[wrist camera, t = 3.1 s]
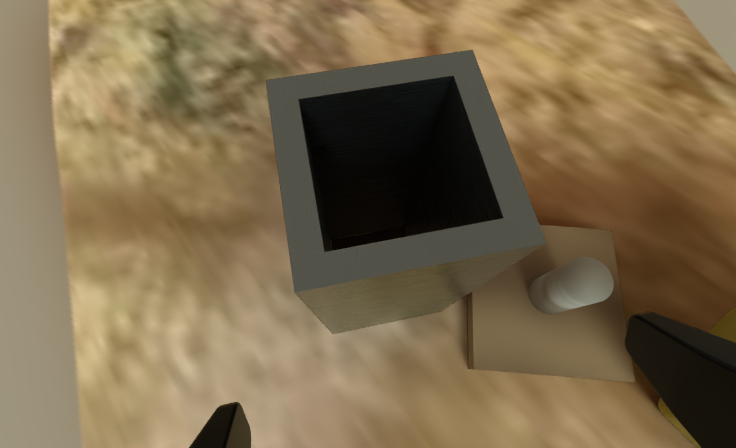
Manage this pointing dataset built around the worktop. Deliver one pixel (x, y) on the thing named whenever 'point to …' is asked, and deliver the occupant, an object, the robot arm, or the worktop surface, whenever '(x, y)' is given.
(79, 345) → the worktop surface
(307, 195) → the open square box
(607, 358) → the tan piece
